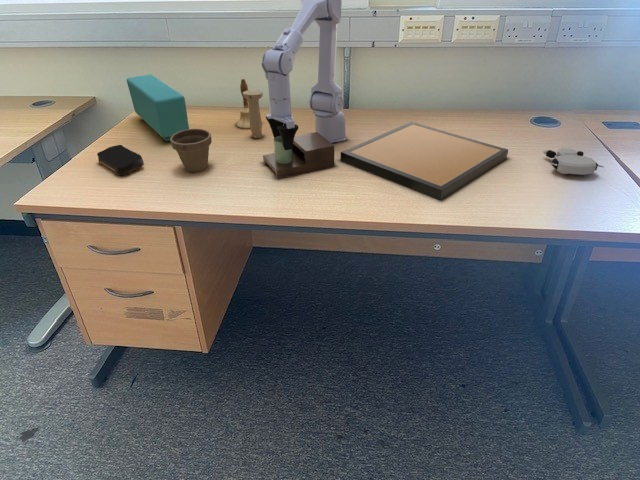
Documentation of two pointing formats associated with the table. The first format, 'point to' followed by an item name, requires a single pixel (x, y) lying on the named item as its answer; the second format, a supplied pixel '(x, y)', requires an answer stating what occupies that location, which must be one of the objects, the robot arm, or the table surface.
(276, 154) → the pencil cup
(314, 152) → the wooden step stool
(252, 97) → the handle
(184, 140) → the flower pot
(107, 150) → the black sponge
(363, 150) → the cork board
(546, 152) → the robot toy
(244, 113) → the hand bell
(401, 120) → the table surface
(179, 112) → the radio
